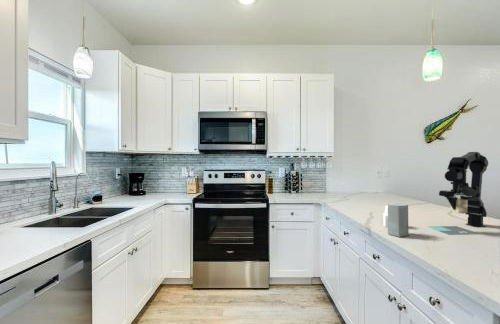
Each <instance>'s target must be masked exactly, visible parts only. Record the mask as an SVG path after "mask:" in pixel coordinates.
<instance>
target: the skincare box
mask: <svg viewBox="0 0 500 324" xmlns="http://www.w3.org/2000/svg"><path fill="white" fill-rule="evenodd" d="M387 206H388V228H387V234H388V235H390V236H394V237H397V238H401V237H405V236H409V204H401V203H392V204H391V203H389V204H387Z"/></svg>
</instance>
